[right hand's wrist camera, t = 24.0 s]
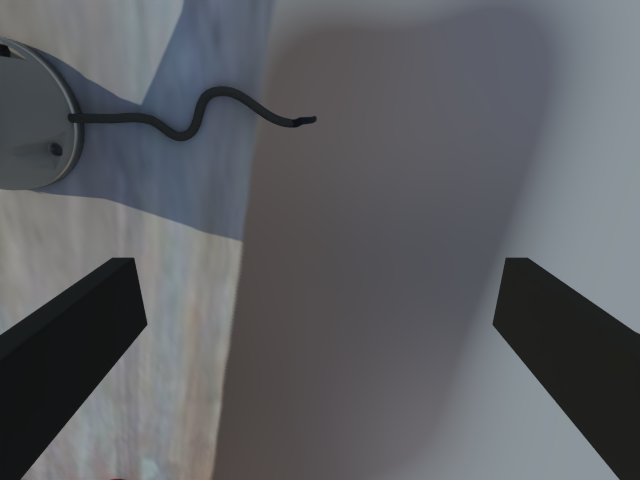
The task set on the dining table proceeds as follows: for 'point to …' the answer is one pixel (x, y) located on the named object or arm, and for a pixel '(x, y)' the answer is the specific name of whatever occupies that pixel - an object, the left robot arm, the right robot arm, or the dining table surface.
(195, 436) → the dining table surface
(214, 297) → the dining table surface
